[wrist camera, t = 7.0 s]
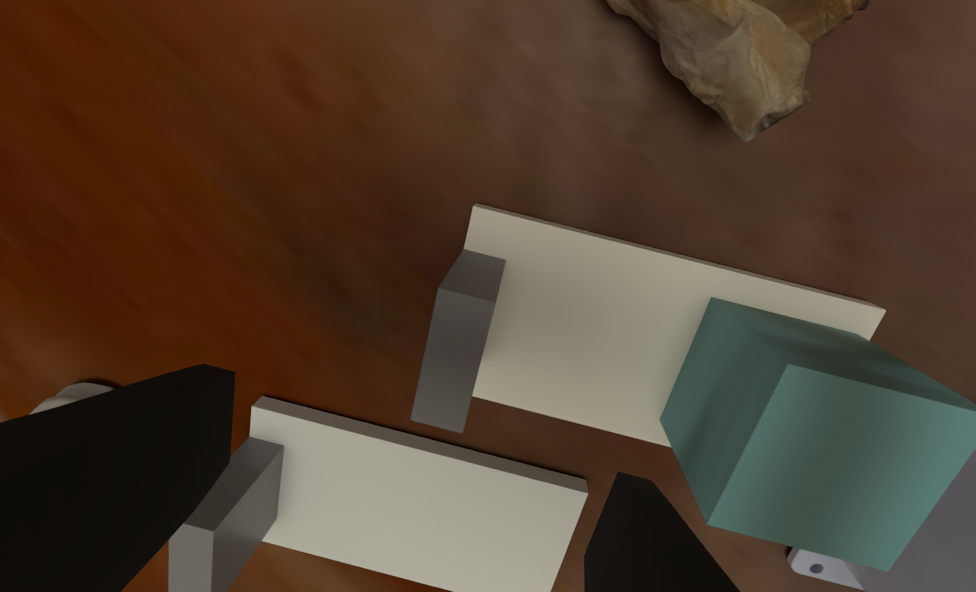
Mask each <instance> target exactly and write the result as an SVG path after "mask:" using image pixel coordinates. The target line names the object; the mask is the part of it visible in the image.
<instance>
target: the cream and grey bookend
mask: <svg viewBox="0 0 976 592" xmlns="http://www.w3.org/2000/svg"><path fill="white" fill-rule="evenodd" d="M587 495H588V489H587V483H586V480H585V479H581V478H577V477H573V476H569V475H565V474H562V473H558V472H554V471H550V470H546V469H542V468H539V467H535V466H531V465H527V464H523V463H519V462H515V461H512V460H508V459H504V458H500V457H496V456H492V455H488V454H485V453H481V452H477V451H473V450H469V449H465V448H461V447H458V446H454V445H450V444H446V443H442V442H438V441H434V440H431V439H427V438H423V437H419V436H415V435H411V434H407V433H404V432H400V431H396V430H392V429H388V428H384V427H380V426H377V425H373V424H369V423H365V422H361V421H357V420H353V419H350V418H346V417H342V416H338V415H334V414H330V413H326V412H323V411H319V410H315V409H311V408H307V407H303V406H299V405H296V404H292V403H288V402H284V401H280V400H276V399H272V398H269V397H265V396H262V397H261V398H260V399H259V400H258V401H257V402H256V403H255V404H254V405H253V406H252V411H251V424H250V437H249V438H248V439H247V440H246V441H245V442H244V443H243V444H242V445H241V446H240V447H239V448H238V449H237V450H236V451H235V452H234V453H233V454H232V455H231V456H230V463H229V464H228V466H227V467H226V468H225V470H224V471H223V473H222V474H221V475H220V477H219V478H218V480H217V481H216V482H215V484H214V485H213V487H212V488H211V490H210V491H209V492H208V494H207V495H206V496H205V498H204V499H203V500H202V501H201V503H200V504H199V505H198V507H197V508H196V509H195V511H194V512H193V513H192V514H191V515H190V517H189V518H188V519H187V520H186V521H185V522H184V523H183V524H182V526H181V527H180V528H179V529H178V530H177V531H176V532H175V533H174V534H173V535H172V536H171V538H170V539H169V592H227V591H228V589H229V588H230V587H231V585H232V584H233V582H234V581H235V579H236V578H237V576H238V575H239V573H240V572H241V570H242V569H243V568H244V566H245V565H246V563H247V562H248V560H249V559H250V557H251V556H252V554H253V553H254V551H255V550H256V548H257V547H258V546H259V544H260V543H261V541H264V542H268V543H272V544H275V545H279V546H283V547H287V548H291V549H294V550H298V551H302V552H306V553H310V554H313V555H317V556H321V557H325V558H329V559H332V560H336V561H340V562H344V563H348V564H351V565H355V566H359V567H363V568H366V569H370V570H374V571H378V572H382V573H385V574H389V575H393V576H397V577H401V578H404V579H408V580H412V581H416V582H420V583H423V584H427V585H431V586H435V587H439V588H442V589H446V590H450V591H454V592H550V591H551V589H552V586H553V584H554V581H555V578H556V576H557V573H558V571H559V568H560V565H561V563H562V560H563V558H564V555H565V552H566V550H567V547H568V545H569V542H570V539H571V537H572V534H573V532H574V529H575V526H576V524H577V521H578V519H579V516H580V513H581V511H582V508H583V506H584V503H585V500H586V498H587Z"/></svg>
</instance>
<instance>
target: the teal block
mask: <svg viewBox="0 0 976 592" xmlns="http://www.w3.org/2000/svg"><path fill="white" fill-rule="evenodd" d="M660 423H661V425H662V427H663V429H664V431H665V434H666V436H667V438H668V440H669V442H670V445H671V447H672V449H673V451H674V454H675V456H676V458H677V460H678V462H679V465H680V467H681V469H682V471H683V473H684V476H685V478H686V480H687V482H688V484H689V487H690V489H691V491H692V493H693V496H694V498H695V500H696V502H697V504H698V507H699V509H700V511H701V513H702V515H703V518H704V520H705V522H706V524H707V525H710V526H714V527H718V528H721V529H725V530H729V531H733V532H737V533H741V534H744V535H748V536H752V537H756V538H760V539H764V540H768V541H771V542H775V543H779V544H783V545H787V546H791V547H795V548H798V549H802V550H806V551H810V552H814V553H818V554H821V555H825V556H829V557H833V558H837V559H841V560H845V561H848V562H852V563H856V564H860V565H864V566H868V567H872V568H875V569H879V570H883V571H887V572H888V571H889V570H890V569H891V567H892V566H893V564H894V563H895V561H896V560H897V559H898V557H899V556H900V554H901V553H902V552H903V550H904V549H905V547H906V546H907V544H908V543H909V542H910V540H911V539H912V537H913V536H914V535H915V533H916V532H917V530H918V529H919V527H920V526H921V525H922V523H923V522H924V520H925V519H926V517H927V516H928V515H929V513H930V512H931V510H932V509H933V508H934V506H935V505H936V503H937V502H938V500H939V499H940V498H941V496H942V495H943V493H944V492H945V491H946V489H947V488H948V486H949V485H950V483H951V482H952V481H953V479H954V478H955V476H956V475H957V474H958V472H959V471H960V469H961V468H962V466H963V465H964V464H965V462H966V461H967V459H968V458H969V457H970V455H971V454H972V452H973V451H974V449H975V448H976V404H975V403H973V402H971V401H970V400H968V399H966V398H965V397H963V396H961V395H959V394H958V393H956V392H954V391H953V390H951V389H949V388H948V387H946V386H944V385H943V384H941V383H939V382H938V381H936V380H934V379H932V378H931V377H929V376H927V375H926V374H924V373H922V372H921V371H919V370H917V369H916V368H914V367H912V366H911V365H909V364H907V363H905V362H904V361H902V360H900V359H899V358H897V357H895V356H894V355H892V354H890V353H889V352H887V351H885V350H884V349H882V348H880V347H878V346H877V345H875V344H873V343H872V342H870V341H868V340H867V339H865V338H863V337H862V336H860V335H858V334H856V333H852V332H848V331H845V330H841V329H837V328H833V327H829V326H825V325H821V324H817V323H813V322H809V321H805V320H801V319H797V318H793V317H789V316H785V315H781V314H777V313H773V312H769V311H765V310H761V309H758V308H754V307H750V306H746V305H742V304H738V303H734V302H730V301H726V300H722V299H718V298H714V297H711V298H710V301H709V303H708V306H707V308H706V310H705V313H704V315H703V317H702V320H701V322H700V325H699V327H698V329H697V332H696V334H695V336H694V339H693V341H692V344H691V346H690V348H689V351H688V353H687V355H686V358H685V360H684V363H683V365H682V367H681V370H680V372H679V374H678V377H677V379H676V382H675V384H674V386H673V389H672V391H671V393H670V396H669V398H668V401H667V403H666V405H665V408H664V410H663V412H662V415H661V417H660Z"/></svg>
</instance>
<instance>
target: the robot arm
mask: <svg viewBox="0 0 976 592" xmlns="http://www.w3.org/2000/svg"><path fill="white" fill-rule="evenodd" d="M234 386H235V372H233V371H229V370H225V369H221V368H217V367H213V366H210V365H206V364H201V365H197V366H192V367H188V368H184V369H181V370H177V371H174V372H170V373H167V374H163V375H160V376H156V377H153V378H150V379H147V380H143V381H140V382H137V383H134V384H130V385H127V386H124V387H121V388H117V389H114V390H111V391H107V392H104V393H101V394H98V395H94V396H91V397H88V398H84V399H81V400H78V401H75V402H71V403H68V404H65V405H62V406H58V407H55V408H51V409H48V410H44V411H41V412H37V413H33V414H30V415H26V416H23V417H19V418H15V419H12V420H8V421H5V422H1V423H0V592H121V591H122V589H123V588H124V587H125V586H126V585H127V584H128V583H129V582H130V581H131V580H132V579H133V578H134V577H135V576H136V574H137V573H138V572H139V571H140V570H141V569H142V568H143V567H144V566H145V565H146V564H147V563H148V562H149V560H150V559H151V558H152V557H153V556H154V555H155V554H156V553H157V552H158V551H159V550H160V549H161V547H162V546H163V545H164V544H165V543H166V542H167V541H168V540H169V539H170V538H171V536H172V535H173V534H174V533H175V532H176V531H177V530H178V529H179V528H180V527H181V526H182V524H183V523H184V522H185V521H186V520H187V519H188V518H189V517H190V515H191V514H192V513H193V512H194V511H195V509H196V508H197V507H198V505H199V504H200V503H201V501H202V500H203V499H204V498H205V496H206V495H207V494H208V492H209V491H210V490H211V488H212V487H213V485H214V484H215V482H216V481H217V480H218V478H219V477H220V475H221V474H222V473H223V471H224V470H225V468H226V467H227V466H228V464H229V463H230V452H231V435H232V419H233V402H234ZM787 560H788V563H789V565H790V566H791V568H792V569H793V570H794V571H795V572H797V573H799V574H803V575H807V576H811V577H815V578H818V579H822V580H826V581H830V582H834V583H838V584H841V585H845V586H849V587H853V588H857V589H861V590H864V591H865V592H976V448H975V449H974V451H973V452H972V454H971V455H970V457H969V458H968V459H967V461H966V462H965V464H964V465H963V466H962V468H961V469H960V471H959V472H958V474H957V475H956V476H955V478H954V479H953V481H952V482H951V483H950V485H949V486H948V488H947V489H946V491H945V492H944V493H943V495H942V496H941V498H940V499H939V500H938V502H937V503H936V505H935V506H934V508H933V509H932V510H931V512H930V513H929V515H928V516H927V517H926V519H925V520H924V522H923V523H922V525H921V526H920V527H919V529H918V530H917V532H916V533H915V535H914V536H913V537H912V539H911V540H910V542H909V543H908V544H907V546H906V547H905V549H904V550H903V552H902V553H901V554H900V556H899V557H898V559H897V560H896V561H895V563H894V564H893V566H892V567H891V569H890V570H889V571H888V572H887V571H883V570H879V569H875V568H872V567H868V566H864V565H860V564H856V563H852V562H848V561H845V560H841V559H837V558H833V557H829V556H825V555H821V554H818V553H814V552H810V551H806V550H802V549H798V548H795V547H793V549H792V550H791V552H790V554H789V555H788V559H787ZM584 577H585V592H740V591H739V589H738V588H737V587H736V586H735V585H734V583H733V582H732V581H731V580H730V578H729V577H728V576H727V575H726V573H725V572H724V571H723V570H722V568H721V567H720V566H719V565H718V564H717V562H716V561H715V560H714V558H713V557H712V556H711V555H710V553H709V552H708V551H707V550H706V548H705V547H704V546H703V545H702V543H701V542H700V541H699V539H698V538H697V537H696V536H695V534H694V533H693V532H692V530H691V529H690V528H689V527H688V525H687V524H686V523H685V522H684V520H683V519H682V518H681V516H680V515H679V514H678V513H677V511H676V510H675V509H674V508H673V506H672V505H671V504H670V502H669V501H668V500H667V499H666V497H665V496H664V495H663V494H662V493H661V491H660V490H659V489H658V488H657V487H656V485H655V484H654V483H653V482H652V481H651V480H648V479H644V478H640V477H636V476H632V475H629V474H625V473H621V472H618V473H617V476H616V478H615V481H614V483H613V486H612V488H611V491H610V493H609V496H608V498H607V501H606V503H605V505H604V508H603V510H602V513H601V515H600V518H599V520H598V523H597V525H596V528H595V530H594V533H593V535H592V538H591V540H590V542H589V545H588V547H587V550H586V552H585V555H584Z"/></svg>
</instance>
